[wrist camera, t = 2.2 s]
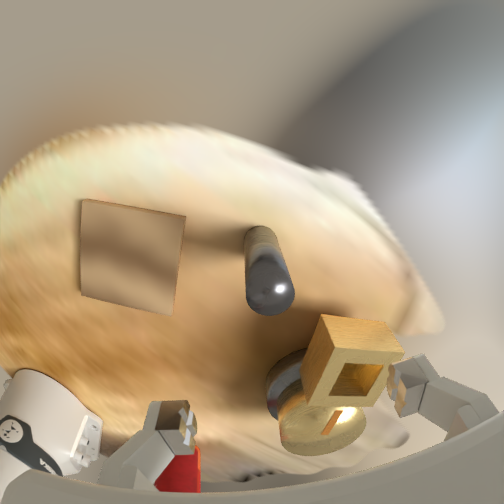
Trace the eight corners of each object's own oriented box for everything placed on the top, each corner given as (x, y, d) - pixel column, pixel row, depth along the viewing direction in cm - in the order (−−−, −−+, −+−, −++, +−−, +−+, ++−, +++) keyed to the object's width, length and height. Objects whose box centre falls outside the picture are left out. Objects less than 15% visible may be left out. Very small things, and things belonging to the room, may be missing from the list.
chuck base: (334, 411, 37) (339, 427, 35) (256, 406, 36) (257, 424, 33) (368, 350, 34) (376, 366, 31) (279, 341, 32) (282, 359, 30)
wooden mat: (173, 311, 31) (171, 316, 30) (85, 290, 30) (81, 295, 29) (186, 216, 27) (184, 219, 26) (86, 198, 26) (82, 201, 25)
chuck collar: (336, 424, 34) (345, 455, 29) (267, 421, 33) (271, 455, 28) (392, 323, 28) (413, 353, 24) (310, 312, 27) (323, 346, 23)
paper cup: (148, 439, 39) (132, 515, 26) (191, 432, 38) (181, 516, 25) (175, 463, 42) (166, 533, 29) (216, 457, 41) (213, 533, 28)
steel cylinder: (272, 259, 29) (287, 318, 20) (240, 253, 29) (241, 311, 19) (280, 229, 28) (300, 277, 19) (247, 222, 28) (252, 268, 18)
